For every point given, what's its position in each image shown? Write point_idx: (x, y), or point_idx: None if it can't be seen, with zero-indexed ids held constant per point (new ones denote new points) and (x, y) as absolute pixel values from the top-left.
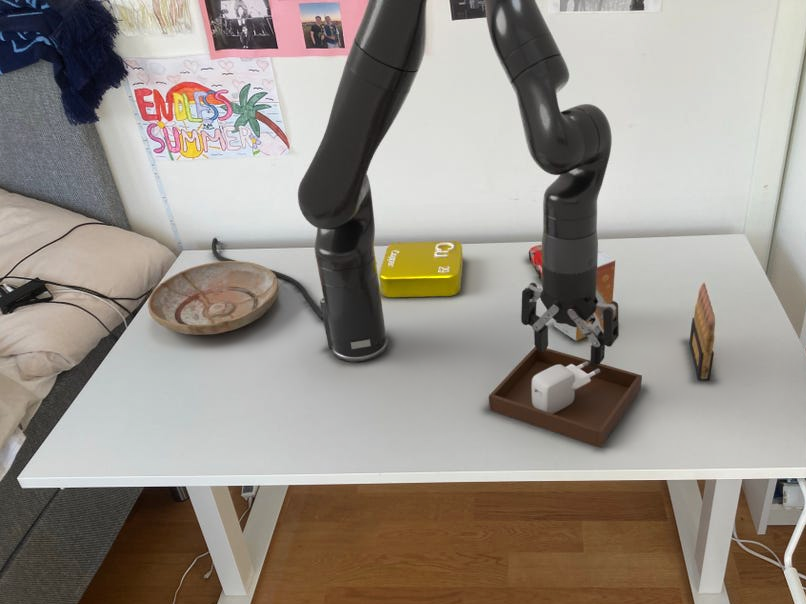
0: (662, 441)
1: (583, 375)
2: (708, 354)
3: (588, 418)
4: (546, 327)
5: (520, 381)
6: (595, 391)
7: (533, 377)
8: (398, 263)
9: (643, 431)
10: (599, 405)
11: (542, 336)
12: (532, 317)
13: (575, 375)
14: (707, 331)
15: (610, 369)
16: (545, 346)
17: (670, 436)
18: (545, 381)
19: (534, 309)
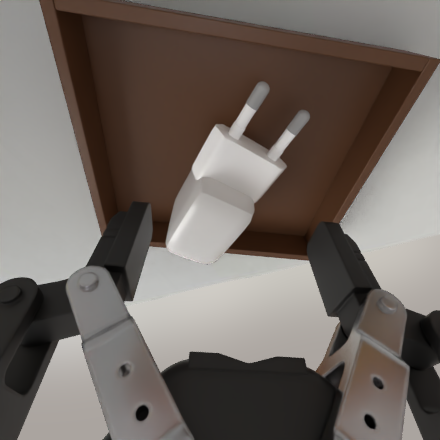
0: (410, 202)
1: (270, 177)
2: None
3: (282, 195)
4: (127, 276)
5: (107, 134)
6: (286, 111)
7: (168, 249)
8: None
9: (381, 190)
10: (299, 155)
11: (136, 277)
12: (51, 334)
13: (249, 183)
14: None
15: (336, 56)
16: (148, 220)
17: (429, 188)
18: (200, 259)
19: (15, 348)
